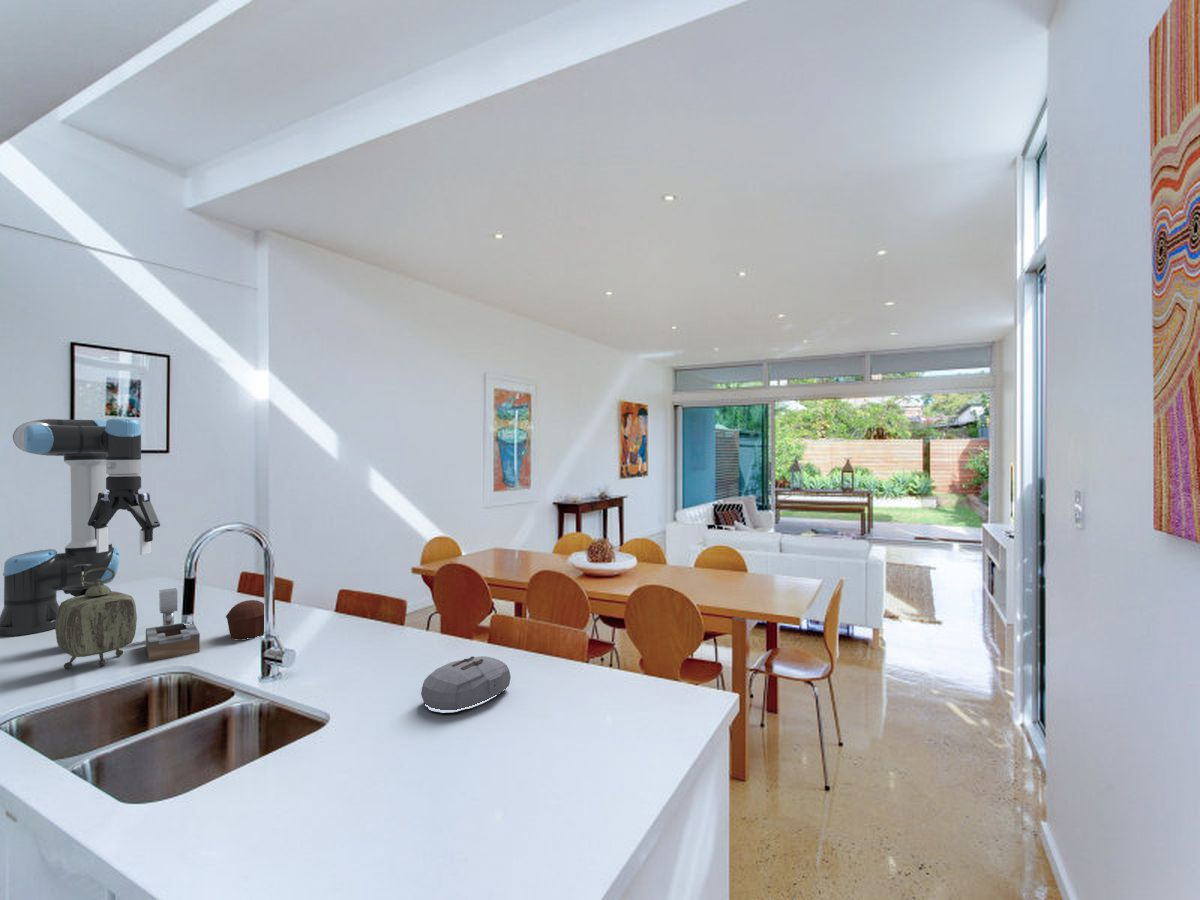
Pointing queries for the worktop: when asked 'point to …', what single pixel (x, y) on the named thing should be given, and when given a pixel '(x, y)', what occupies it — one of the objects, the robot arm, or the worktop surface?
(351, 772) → the worktop surface
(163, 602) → the headed peg
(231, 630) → the muffin
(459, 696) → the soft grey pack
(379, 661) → the worktop surface
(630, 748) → the worktop surface
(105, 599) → the tabletop clock
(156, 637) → the keyhole block
